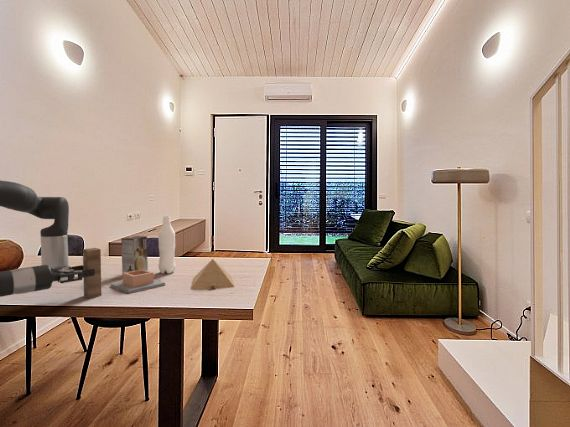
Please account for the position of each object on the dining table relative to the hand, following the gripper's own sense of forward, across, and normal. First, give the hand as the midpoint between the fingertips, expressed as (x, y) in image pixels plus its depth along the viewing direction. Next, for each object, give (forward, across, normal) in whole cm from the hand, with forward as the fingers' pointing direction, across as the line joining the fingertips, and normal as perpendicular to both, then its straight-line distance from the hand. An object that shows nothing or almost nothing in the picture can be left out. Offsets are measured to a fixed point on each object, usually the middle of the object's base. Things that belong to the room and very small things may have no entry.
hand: (89, 270), depth 111 cm
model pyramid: (+38, -18, +10) cm, 43 cm away
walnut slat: (+1, 0, +9) cm, 9 cm away
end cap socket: (+17, 0, +9) cm, 19 cm away
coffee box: (+26, +20, +9) cm, 34 cm away
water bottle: (+36, +11, +9) cm, 39 cm away
